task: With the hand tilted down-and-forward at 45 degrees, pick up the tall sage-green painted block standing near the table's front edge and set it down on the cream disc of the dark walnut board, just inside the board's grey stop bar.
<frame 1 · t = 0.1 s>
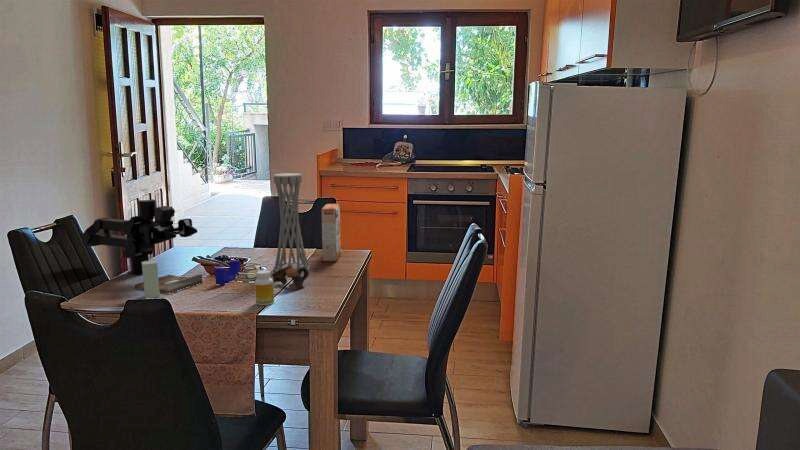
hand: (186, 233, 202), 17 cm above the table, tool horizontal, fingers open, 9 cm apart
sage block: (152, 296, 186), on the table
walnut board: (169, 285, 198), on the table
blue notched block: (226, 281, 204), on the table
vase: (291, 270, 218), on the table
supplement bottle: (265, 303, 178), on the table
cracker box: (332, 258, 236), on the table
pottery mug: (291, 287, 196), on the table
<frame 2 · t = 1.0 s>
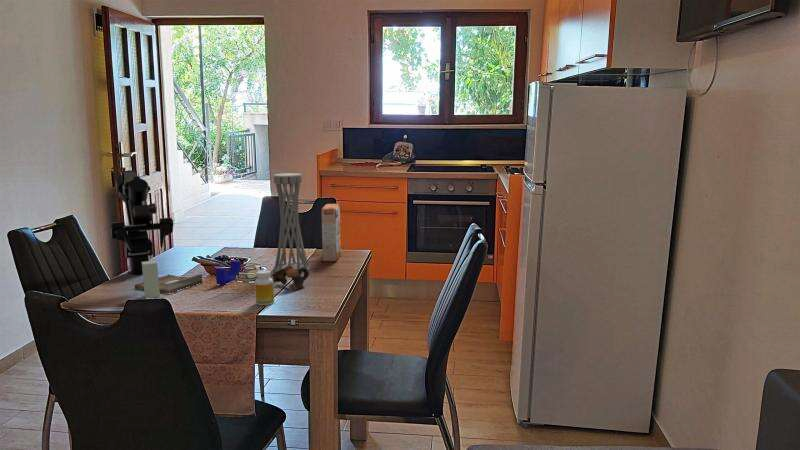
hand: (146, 248, 191), 14 cm above the table, tool tilted 45°, fingers open, 9 cm apart
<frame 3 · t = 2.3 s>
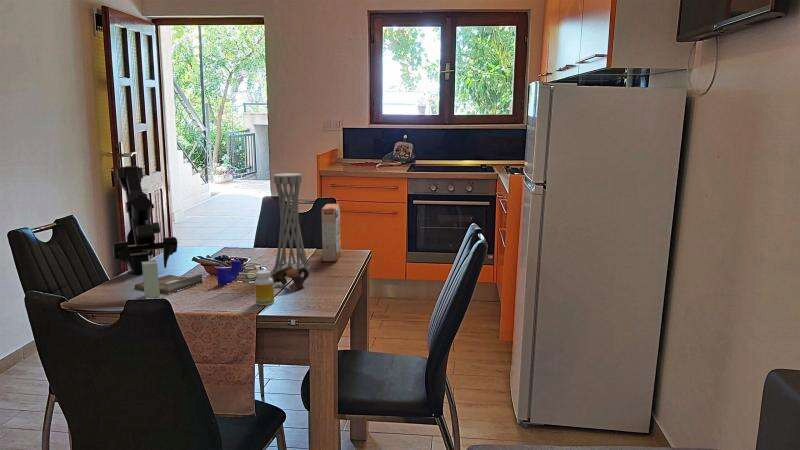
hand: (149, 269, 185), 9 cm above the table, tool tilted 45°, fingers open, 9 cm apart
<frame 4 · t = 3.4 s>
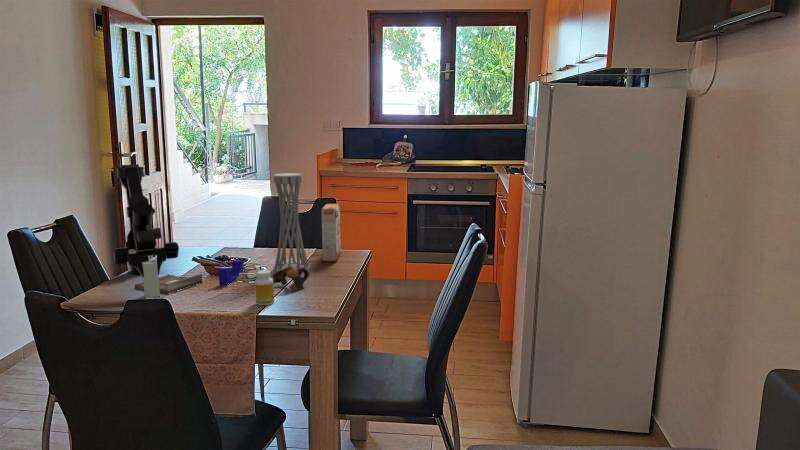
hand: (150, 275, 184), 7 cm above the table, tool tilted 45°, fingers closed on sage block, 4 cm apart
sage block: (152, 296, 186), on the table, touching gripper
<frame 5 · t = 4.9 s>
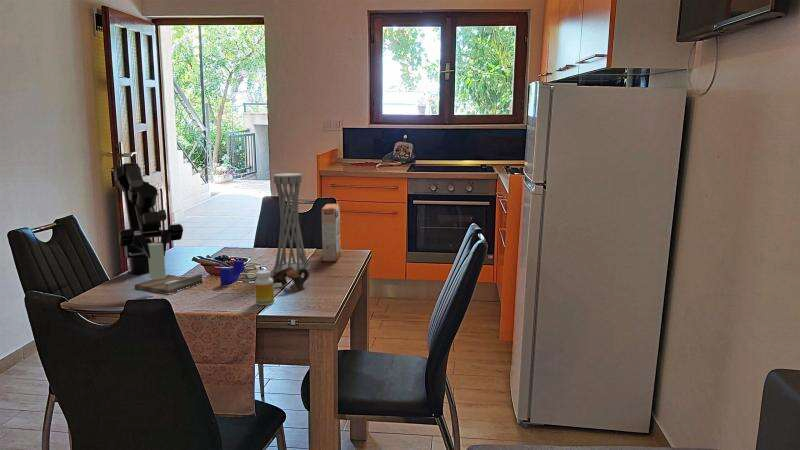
hand: (156, 256, 186), 12 cm above the table, tool tilted 45°, fingers closed on sage block, 4 cm apart
sage block: (157, 277, 189), point 5 cm above the table, touching gripper
when the fingers open (10 cm above the table, at t = 6.4 s): sage block drops 1 cm, resting on walnut board.
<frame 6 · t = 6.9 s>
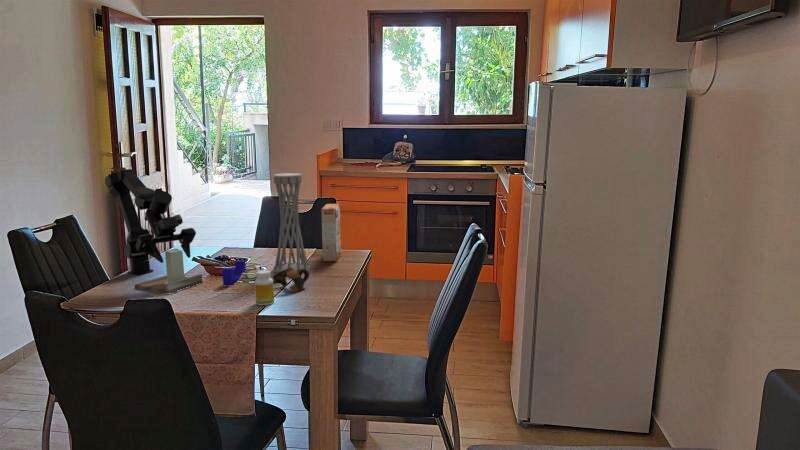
hand: (176, 259, 194), 10 cm above the table, tool tilted 45°, fingers open, 9 cm apart
sage block: (176, 283, 196), point 1 cm above the table, touching walnut board
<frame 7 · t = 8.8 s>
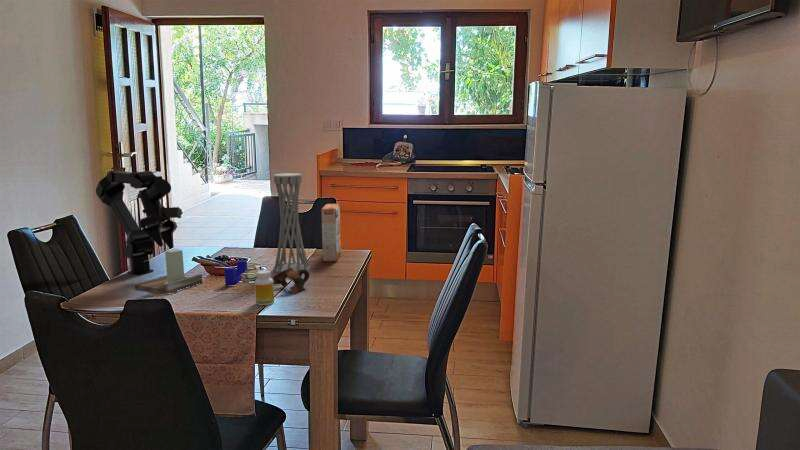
hand: (166, 247, 203), 12 cm above the table, tool tilted 25°, fingers open, 9 cm apart
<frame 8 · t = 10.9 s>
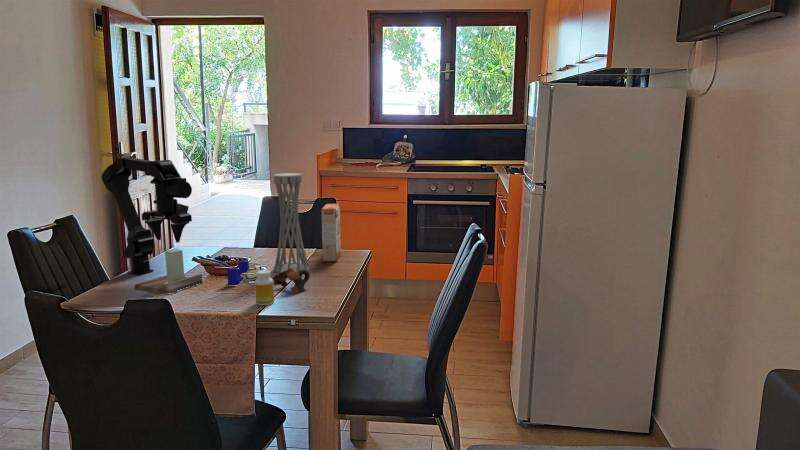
hand: (168, 241, 207), 13 cm above the table, tool pointing down, fingers open, 9 cm apart
at the end: sage block inside the target area (0.0 cm from its centre), point 1.3 cm above the table; sage block tilted 0°; the gripper is holding nothing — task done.
